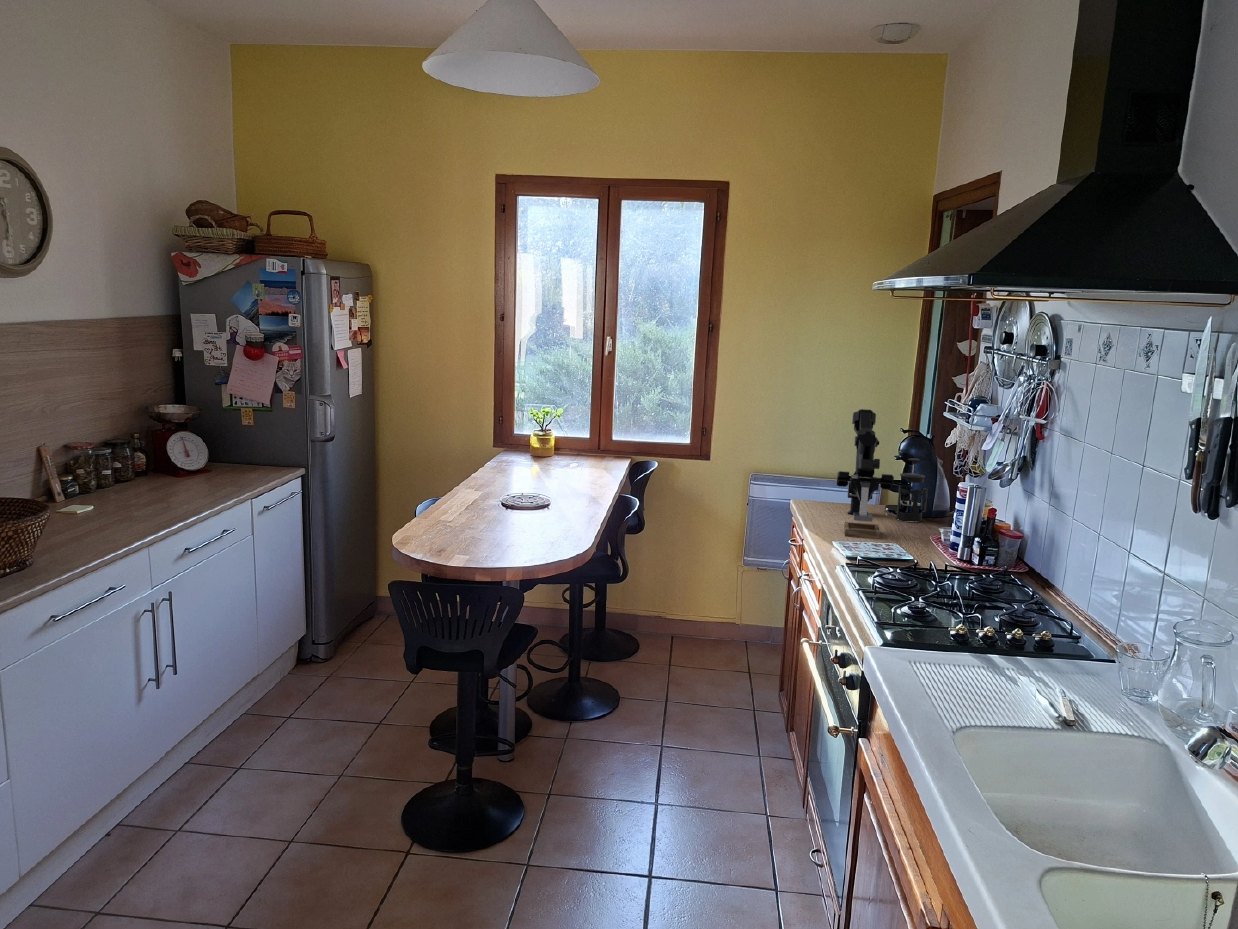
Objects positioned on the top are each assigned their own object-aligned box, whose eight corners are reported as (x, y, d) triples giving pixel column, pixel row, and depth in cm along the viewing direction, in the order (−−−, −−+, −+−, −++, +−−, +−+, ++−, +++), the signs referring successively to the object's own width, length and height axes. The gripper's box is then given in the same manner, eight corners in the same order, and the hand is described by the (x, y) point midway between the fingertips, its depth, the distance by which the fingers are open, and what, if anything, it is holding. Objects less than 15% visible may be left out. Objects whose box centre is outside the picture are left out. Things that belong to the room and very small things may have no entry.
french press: (899, 522, 319) (905, 460, 315) (889, 516, 328) (894, 456, 324) (930, 522, 320) (936, 461, 316) (920, 517, 329) (925, 457, 325)
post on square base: (853, 520, 296) (856, 482, 294) (853, 516, 302) (856, 479, 300) (872, 521, 295) (875, 484, 293) (871, 517, 301) (874, 480, 298)
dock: (844, 528, 306) (844, 521, 305) (877, 531, 303) (878, 524, 303) (844, 536, 295) (845, 529, 294) (879, 538, 292) (880, 531, 292)
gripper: (839, 448, 300) (837, 485, 292) (895, 451, 296) (895, 489, 287) (837, 467, 309) (835, 503, 300) (892, 470, 305) (891, 507, 296)
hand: (864, 500), depth 296 cm, fingers closed on post on square base, 2 cm apart
